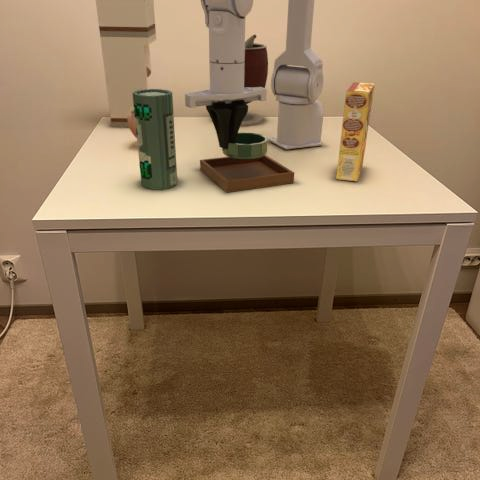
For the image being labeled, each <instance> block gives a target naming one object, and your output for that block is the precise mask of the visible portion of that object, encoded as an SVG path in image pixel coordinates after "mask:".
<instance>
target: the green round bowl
mask: <svg viewBox="0 0 480 480" xmlns="http://www.w3.org/2000/svg"><path fill="white" fill-rule="evenodd" d="M268 141H269V140H268V136H265V135H263V134H261V133H260V134H259V133H256V132H255V133H254V132H238V134H237V138H236V142H235V143H232V142H229V145H228V149H223V148H221V151H222V154H223V155H224V156H225V157H232V158H237V159H255V158H260V157H263V156H265V155H266V156H267V153H268V145H269V144H268V143H269V142H268Z"/></svg>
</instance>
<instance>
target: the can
mask: <svg viewBox="0 0 480 480" xmlns="http://www.w3.org/2000/svg"><path fill="white" fill-rule="evenodd" d="M132 94H133V104H134V114H135V124H136V134H137V138H136V143H137V153H138V162H139V172H140V183H141V186H142V187H143V188H145V189H149V190H153V191H154V190H155V191H156V190H157V191H164V190H168V189H171V188H174V187H176V186H177V185H178V169H177V167H178V166H177V150H176V149H177V148H176V135H175V118H174V117H175V115H174V100H173V99H174V98H173V91H171V90H169V89H162V88H148V89H144V90H138V91H134V92H133V93H132Z"/></svg>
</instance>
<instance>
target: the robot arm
mask: <svg viewBox="0 0 480 480" xmlns="http://www.w3.org/2000/svg"><path fill="white" fill-rule="evenodd" d="M287 2H288V3H287V4H288V5H287V19H286V22H287V23H286V40H285V50H284V51H282V52H281V53H280V54H279V55H278V56H277V57H276V58H275V59H274V64H273V70H272V73H271V79H270V89H271V92H272V94H273V96H274V97H275V101H277V102H278V111H277V128H276V137H270V138H269V140H268V141H269V142H270V143H273V144H275V145H276V146H278V147H280V148H281V149H284V150H293V149H301V148H311V147H319V146H320V147H321V146H323V142H321V141H322V132H323V123H324V110H323V109H324V108H323V105H322V103H321V102H320V101H319V100H318V99H319V98H320V96H321V94H322V92H323V88H324V73H323V65H324V64H323V60H322V59H321V58H320V57H319V56H318V54H316V53H315V52H314V51H313V50H312V48H311V47H312V36H313V35H312V34H313V23H314V22H313V21H314V12H315V11H314V10H315V0H288V1H287ZM200 4H201V7H202V10H203V13H204V24H205V27H206V28H208V59H209V61H208V62H209V89H205V90H199V91H194V92H186V93H184V104H185V105H184V106H185V107H187V108H189V109H195V108H196V107H205V109H206V111H207V113H208V115H209V117H210V120H211V122H212V124H213V126H214V127H213V128H214V130H215V133H216V137H217V141H218V147H219V148H220V149H222V148H223V149H228V145H229V142H232V143H235V142H236V138H237V134H238V133H239V131H240V128H241V127H242V126H241V123H242V121H243V119H244V117H245V115H246V114H247V113H249V105H248V104H245V102H248V101H252V102H258V101H259V102H266V101H267V93H268V89H267V88H266V87H265V88H262V87H248V88H244V66H245V62H244V61H245V42H246V17H247V16H248V15H249V13H251V12H252V8H253V5H254V0H200Z"/></svg>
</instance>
